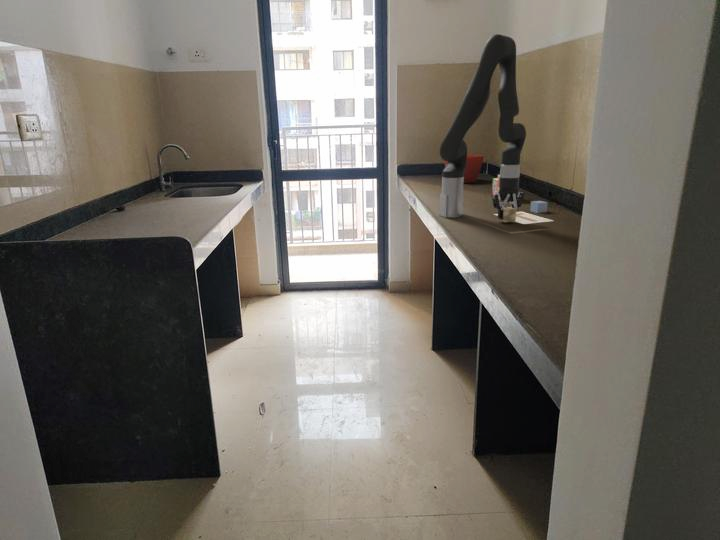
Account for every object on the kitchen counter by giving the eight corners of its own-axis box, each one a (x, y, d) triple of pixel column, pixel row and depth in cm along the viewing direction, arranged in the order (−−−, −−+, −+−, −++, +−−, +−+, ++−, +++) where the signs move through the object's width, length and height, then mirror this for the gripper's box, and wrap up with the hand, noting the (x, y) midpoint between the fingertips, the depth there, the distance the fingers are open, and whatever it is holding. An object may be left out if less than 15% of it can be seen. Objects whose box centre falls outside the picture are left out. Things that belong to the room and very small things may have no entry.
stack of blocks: (491, 195, 267) (493, 172, 264) (503, 194, 267) (504, 172, 264) (502, 201, 247) (504, 177, 243) (515, 201, 247) (516, 177, 243)
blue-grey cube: (537, 214, 215) (538, 203, 213) (530, 212, 219) (530, 201, 218) (546, 213, 216) (547, 202, 215) (539, 211, 221) (540, 200, 219)
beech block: (504, 222, 194) (505, 210, 192) (497, 220, 199) (498, 207, 197) (515, 221, 195) (516, 209, 194) (508, 219, 200) (509, 207, 198)
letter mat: (523, 225, 194) (523, 224, 194) (492, 215, 214) (492, 214, 214) (554, 222, 198) (554, 220, 198) (521, 212, 218) (521, 211, 218)
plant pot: (441, 181, 324) (442, 155, 319) (465, 179, 332) (466, 154, 327) (459, 184, 308) (460, 157, 303) (483, 182, 315) (484, 155, 310)
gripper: (499, 178, 186) (496, 221, 191) (530, 175, 190) (527, 218, 195) (488, 176, 193) (486, 218, 198) (519, 173, 197) (516, 215, 202)
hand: (506, 218), depth 197 cm, fingers closed on beech block, 5 cm apart
